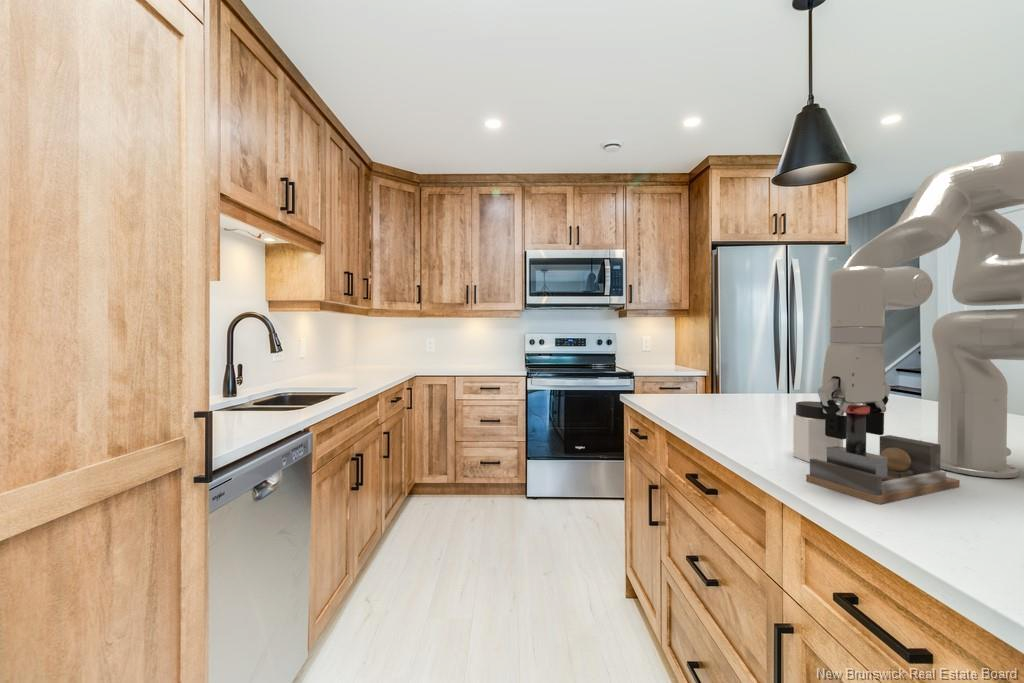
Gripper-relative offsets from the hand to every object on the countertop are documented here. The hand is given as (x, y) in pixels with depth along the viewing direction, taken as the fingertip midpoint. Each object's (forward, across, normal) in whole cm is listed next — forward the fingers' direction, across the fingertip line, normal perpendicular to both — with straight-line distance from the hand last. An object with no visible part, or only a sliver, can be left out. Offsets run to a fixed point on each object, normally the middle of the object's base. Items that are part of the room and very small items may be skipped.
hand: (854, 435), depth 77 cm
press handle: (+8, 0, 0) cm, 8 cm away
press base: (+9, -8, 0) cm, 12 cm away
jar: (+10, -12, -15) cm, 22 cm away
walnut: (+5, -11, 0) cm, 13 cm away
